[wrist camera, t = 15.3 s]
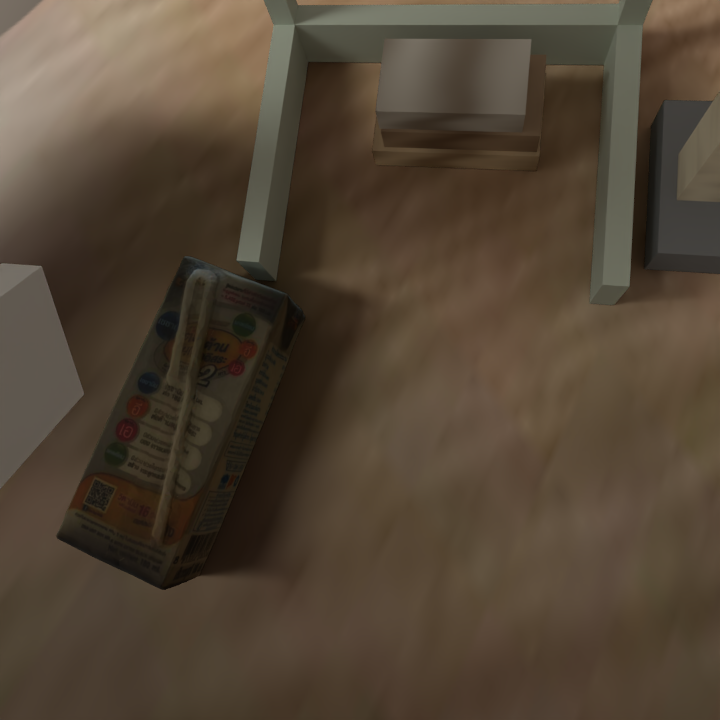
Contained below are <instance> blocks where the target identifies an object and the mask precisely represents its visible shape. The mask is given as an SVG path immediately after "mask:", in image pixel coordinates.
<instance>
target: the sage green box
mask: <svg viewBox="0 0 720 720" xmlns="http://www.w3.org/2000/svg"><path fill="white" fill-rule="evenodd" d="M264 2H265V5H266V7H267V9H268V12H269V14H270V17H271V19H272V22H273V24H274V27H273V33H272V39H271V46H270V52H269V58H268V65H267V71H266V77H265V84H264V90H263V96H262V103H261V109H260V115H259V121H258V128H257V134H256V140H255V147H254V153H253V159H252V166H251V172H250V178H249V185H248V191H247V197H246V204H245V210H244V216H243V222H242V229H241V235H240V241H239V248H238V254H237V260H236V261H237V262H238V263H239V264H240V265H241V266H242V267H243V268H244V269H245V270H246V271H248V272H249V273H250V274H251V275H252V276H253V277H254V278H255V279H256V280H268V281H276V279H277V272H278V265H279V259H280V252H281V245H282V238H283V231H284V224H285V218H286V211H287V204H288V197H289V190H290V183H291V177H292V170H293V163H294V156H295V149H296V143H297V136H298V129H299V122H300V115H301V108H302V102H303V95H304V88H305V81H306V74H307V68H308V62H370V63H382V55H383V47H384V39H532V40H531V52H530V55H547V56H546V64H559V65H604V74H603V90H602V106H601V123H600V139H599V156H598V172H597V188H596V205H595V221H594V238H593V254H592V271H591V287H590V303H591V304H605V305H614V304H615V303H616V302H617V301H618V300H619V299H620V297H621V296H622V295H623V294H624V293H625V291H626V290H627V289H628V288H629V287H630V268H631V248H632V228H633V209H634V189H635V169H636V149H637V129H638V109H639V89H640V69H641V49H642V30H643V23H644V20H645V18H646V15H647V13H648V10H649V8H650V5H651V3H652V0H620V1H619V4H478V5H298V4H297V2H296V0H264Z"/></svg>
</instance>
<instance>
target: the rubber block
mask: <svg viewBox="0 0 720 720" xmlns="http://www.w3.org/2000/svg"><path fill="white" fill-rule="evenodd" d="M712 102H713V101H683V100H664V102H663V104H662V106H661V108H660V110H659V112H658V113H657V115H656V117H655V119H654V121H653V123H652V125H651V135H650V157H649V178H648V200H647V221H646V243H645V264H644V269H650V270H666V271H682V272H698V273H715V274H720V202H707V201H684V200H677V179H678V154H679V153H680V151H681V149H682V148H683V146H684V145H685V143H686V142H687V140H688V139H689V137H690V136H691V134H692V133H693V131H694V130H695V128H696V126H697V125H698V123H699V122H700V120H701V119H702V117H703V116H704V114H705V113H706V111H707V110H708V108H709V107H710V105H711V103H712Z"/></svg>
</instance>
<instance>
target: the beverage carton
mask: <svg viewBox="0 0 720 720" xmlns="http://www.w3.org/2000/svg"><path fill="white" fill-rule="evenodd" d="M304 319H305V316H304V314H303V311H302V310H301V309H300V308H299V306H298V305H297V304H295V303H294V302H293V301H292V299H291V298H290V297H289V296H288V294H286V293H284V292H281V291H279V290H276V289H274V288H271V287H268V286H265V285H262V284H260V283H257V282H255V281H252V280H249V279H246V278H244V277H241V276H238V275H235V274H233V273H231V272H229V271H227V270H224V269H221V268H219V267H216V266H214V265H211V264H209V263H206V262H204V261H201V260H199V259H196V258H193V257H189V256H185V257H184V258H183V260H182V262H181V265H180V267H179V269H178V271H177V273H176V275H175V277H174V279H173V281H172V283H171V285H170V287H169V288H168V291H167V293H166V296H165V298H164V301H163V303H162V305H161V306H160V308H159V310H158V312H157V314H156V317H155V319H154V321H153V323H152V326H151V328H150V330H149V332H148V334H147V336H146V338H145V341H144V343H143V345H142V347H141V349H140V351H139V354H138V356H137V358H136V360H135V362H134V364H133V367H132V369H131V371H130V373H129V376H128V378H127V380H126V382H125V384H124V386H123V388H122V390H121V392H120V394H119V397H118V399H117V401H116V403H115V405H114V407H113V409H112V412H111V414H110V416H109V419H108V421H107V423H106V425H105V428H104V430H103V432H102V434H101V436H100V438H99V440H98V443H97V445H96V447H95V449H94V452H93V454H92V456H91V459H90V461H89V463H88V465H87V467H86V469H85V472H84V474H83V476H82V479H81V481H80V483H79V485H78V487H77V490H76V492H75V494H74V496H73V499H72V501H71V503H70V505H69V508H68V510H67V512H66V515H65V518H64V520H63V523H62V525H61V527H60V529H59V531H58V533H57V535H56V537H57V538H58V539H59V540H61V541H63V542H65V543H67V544H69V545H71V546H73V547H75V548H77V549H79V550H81V551H83V552H85V553H87V554H88V555H90V556H92V557H94V558H96V559H98V560H101V561H103V562H105V563H107V564H109V565H111V566H113V567H116V568H118V569H120V570H122V571H124V572H127V573H129V574H131V575H133V576H135V577H137V578H139V579H141V580H143V581H145V582H147V583H149V584H151V585H153V586H155V587H157V588H160V589H162V590H166V589H168V588H171V587H174V586H176V585H180V584H181V583H184V582H187V581H188V580H191V579H193V578H195V577H197V576H199V575H200V572H201V570H202V567H203V565H204V563H205V561H206V559H207V557H208V555H209V553H210V550H211V548H212V546H213V544H214V541H215V539H216V537H217V534H218V532H219V530H220V527H221V525H222V522H223V520H224V518H225V515H226V513H227V510H228V508H229V506H230V503H231V501H232V499H233V496H234V494H235V491H236V489H237V486H238V483H239V481H240V478H241V476H242V474H243V472H244V469H245V466H246V464H247V462H248V460H249V457H250V455H251V452H252V450H253V447H254V445H255V442H256V440H257V437H258V435H259V432H260V430H261V427H262V425H263V423H264V420H265V418H266V415H267V413H268V410H269V408H270V406H271V403H272V401H273V398H274V396H275V393H276V391H277V388H278V386H279V383H280V381H281V378H282V376H283V373H284V371H285V368H286V365H287V363H288V360H289V357H290V354H291V351H292V348H293V346H294V343H295V341H296V339H297V336H298V333H299V331H300V328H301V326H302V324H303V322H304Z"/></svg>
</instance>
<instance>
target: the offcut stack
mask: <svg viewBox="0 0 720 720" xmlns="http://www.w3.org/2000/svg"><path fill="white" fill-rule="evenodd" d="M531 40H532V39H384V47H383V55H382V63H381V71H380V79H379V87H378V95H377V103H376V124H375V132H374V140H373V148H372V152H373V156H374V160H375V163H376V165H391V166H417V167H443V168H470V169H496V170H522V171H536V169H537V165H538V161H539V157H540V144H541V131H542V118H543V105H544V92H545V79H546V73H545V69H546V56H547V55H530V52H531Z"/></svg>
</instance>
